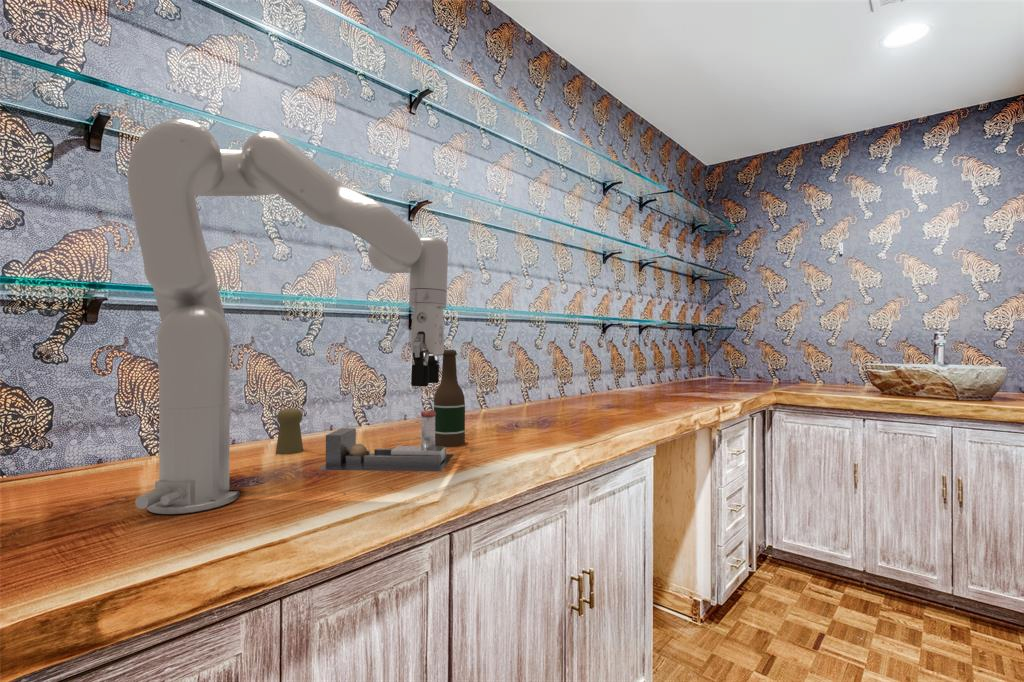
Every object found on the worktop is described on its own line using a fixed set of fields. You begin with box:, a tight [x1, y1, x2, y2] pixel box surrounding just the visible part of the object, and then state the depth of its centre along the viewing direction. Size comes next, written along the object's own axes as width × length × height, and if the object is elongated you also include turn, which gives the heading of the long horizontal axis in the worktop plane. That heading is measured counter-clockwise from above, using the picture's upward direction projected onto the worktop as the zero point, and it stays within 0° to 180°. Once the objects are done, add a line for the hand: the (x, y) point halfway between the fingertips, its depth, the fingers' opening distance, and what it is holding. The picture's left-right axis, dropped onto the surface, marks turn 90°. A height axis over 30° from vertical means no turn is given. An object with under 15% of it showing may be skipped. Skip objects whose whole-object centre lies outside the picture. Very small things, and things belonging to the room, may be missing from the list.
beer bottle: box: [433, 349, 466, 448], centre depth 117 cm, size 8×8×24 cm
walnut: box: [349, 443, 368, 460], centre depth 100 cm, size 4×4×4 cm
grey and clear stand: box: [391, 410, 446, 463], centre depth 99 cm, size 4×10×10 cm, turn 87°
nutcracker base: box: [316, 427, 454, 473], centre depth 99 cm, size 14×24×8 cm, turn 87°
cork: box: [274, 407, 304, 456], centre depth 109 cm, size 6×6×11 cm
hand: (425, 384), depth 99 cm, fingers open, 9 cm apart
